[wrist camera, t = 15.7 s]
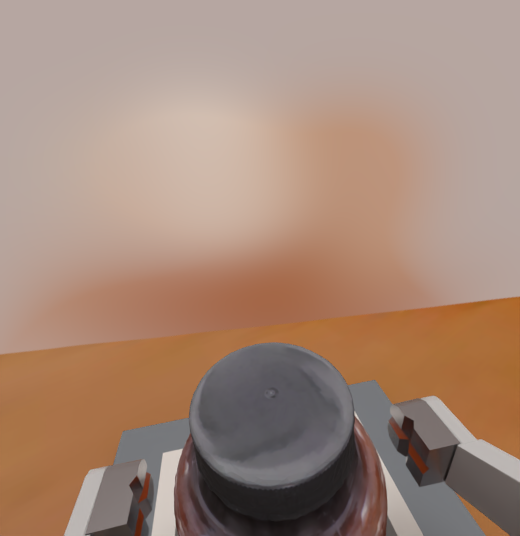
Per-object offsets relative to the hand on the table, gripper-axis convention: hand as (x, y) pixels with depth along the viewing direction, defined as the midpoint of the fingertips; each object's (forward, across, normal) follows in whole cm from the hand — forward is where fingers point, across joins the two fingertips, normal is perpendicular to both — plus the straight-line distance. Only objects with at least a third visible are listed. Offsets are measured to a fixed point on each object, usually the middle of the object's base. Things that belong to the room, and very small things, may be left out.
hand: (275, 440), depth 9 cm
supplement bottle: (-1, 0, +8) cm, 8 cm away
